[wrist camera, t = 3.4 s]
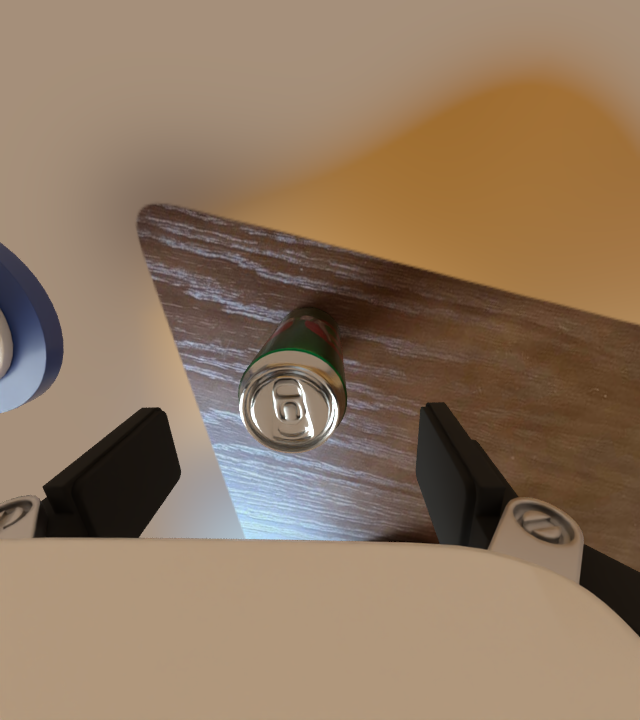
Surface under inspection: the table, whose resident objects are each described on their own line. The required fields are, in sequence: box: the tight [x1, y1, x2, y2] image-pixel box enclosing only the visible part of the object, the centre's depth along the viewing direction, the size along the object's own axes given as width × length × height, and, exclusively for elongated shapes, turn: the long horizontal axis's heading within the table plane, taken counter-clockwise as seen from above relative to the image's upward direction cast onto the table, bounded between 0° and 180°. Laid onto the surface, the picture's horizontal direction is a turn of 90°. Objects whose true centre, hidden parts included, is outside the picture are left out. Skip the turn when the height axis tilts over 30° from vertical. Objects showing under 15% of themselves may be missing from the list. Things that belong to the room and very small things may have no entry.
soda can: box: [238, 307, 347, 453], centre depth 18 cm, size 5×5×12 cm
